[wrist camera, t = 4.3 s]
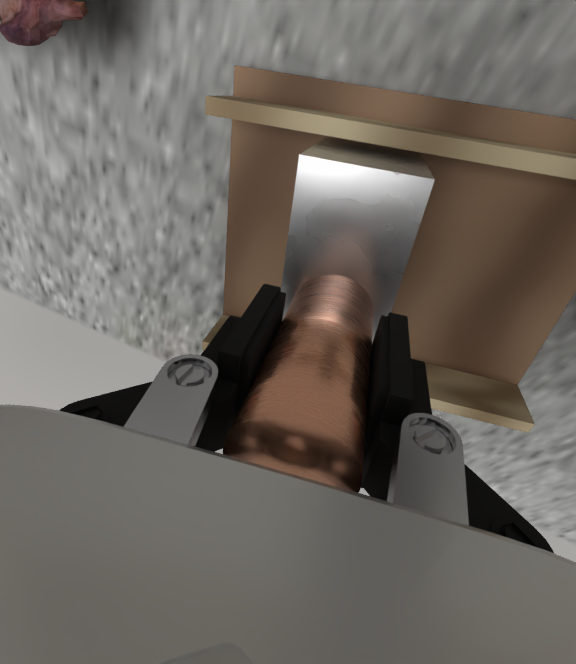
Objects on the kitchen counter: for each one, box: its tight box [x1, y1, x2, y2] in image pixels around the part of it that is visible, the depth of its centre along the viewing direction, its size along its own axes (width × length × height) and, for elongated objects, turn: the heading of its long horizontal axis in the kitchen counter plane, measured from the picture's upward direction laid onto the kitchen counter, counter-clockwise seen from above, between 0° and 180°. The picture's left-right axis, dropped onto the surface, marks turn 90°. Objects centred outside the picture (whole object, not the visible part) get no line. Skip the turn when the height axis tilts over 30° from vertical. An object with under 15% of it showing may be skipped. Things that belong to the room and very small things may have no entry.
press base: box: [203, 65, 576, 433], centre depth 18 cm, size 17×14×4 cm
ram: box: [223, 137, 435, 493], centre depth 13 cm, size 4×10×13 cm, turn 172°
